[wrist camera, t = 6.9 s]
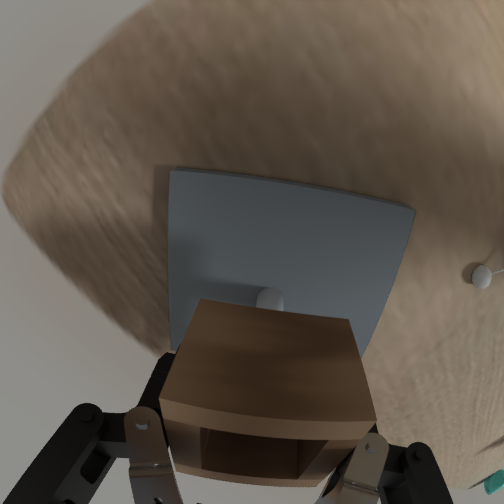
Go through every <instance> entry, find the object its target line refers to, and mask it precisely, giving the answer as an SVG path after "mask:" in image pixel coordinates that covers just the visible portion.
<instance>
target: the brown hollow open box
mask: <svg viewBox="0 0 504 504" xmlns="http://www.w3.org/2000/svg"><path fill="white" fill-rule="evenodd" d="M159 401H160V406H161V411H162V416H163V421H164V425H165V430H166V434H167V438H168V442H169V446H170V450H171V454H172V458H173V462H174V465H175V469H176V471H177V472H181V473H186V474H190V475H194V476H200V477H204V478H210V479H216V480H221V481H229V482H235V483H243V484H253V485H263V486H279V487H316V486H317V485H318V484H319V483H320V482H321V481H322V480H323V479H324V478H326V477H327V476H328V475H329V474H330V473H331V472H332V471H333V470H334V469H335V468H336V467H337V466H338V465H339V464H340V463H341V462H342V461H343V459H344V458H345V457H346V456H347V455H348V454H349V453H350V452H351V451H352V450H353V449H354V448H355V446H356V445H357V444H358V443H359V442H360V441H361V440H362V438H363V437H364V436H365V435H366V434H367V433H368V431H369V430H370V429H371V428H372V426H373V425H374V424H375V423H376V421H377V418H376V414H375V410H374V406H373V402H372V398H371V394H370V390H369V386H368V383H367V379H366V375H365V372H364V368H363V365H362V361H361V358H360V354H359V351H358V348H357V344H356V341H355V338H354V334H353V331H352V328H351V325H350V322H349V319H344V318H335V317H326V316H317V315H309V314H301V313H293V312H286V311H278V310H271V309H264V308H257V307H251V306H244V305H238V304H231V303H225V302H219V301H213V300H208V299H202V298H200V300H199V303H198V305H197V307H196V310H195V312H194V314H193V317H192V319H191V321H190V324H189V326H188V328H187V331H186V333H185V335H184V338H183V340H182V342H181V345H180V347H179V350H178V352H177V354H176V357H175V359H174V362H173V364H172V366H171V369H170V371H169V374H168V376H167V379H166V381H165V384H164V386H163V388H162V391H161V393H160V396H159Z"/></svg>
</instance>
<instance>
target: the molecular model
mask: <svg viewBox="0 0 504 504" xmlns="http://www.w3.org/2000/svg"><path fill="white" fill-rule="evenodd" d="M502 271H504V269H502V270H499V271H496V272H493V273H491V271H490V270H489V268H488V267H486V266H484V265H479V266H478V267H476V268H475V270H474V271H473V273H472V277H471V278H472V283H473V285H474V286H475V287H476V288H478V289H484V288H486V287H487V286H488V285H489V284H490V282H491V277H492V276H491V275H493V274H496V273H499V272H502Z"/></svg>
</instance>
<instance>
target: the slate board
mask: <svg viewBox="0 0 504 504" xmlns="http://www.w3.org/2000/svg"><path fill="white" fill-rule="evenodd" d="M415 214H416V210H415V209H413V208H412V207H410V206H409V205H405V204H401V203H397V202H393V201H389V200H384V199H380V198H376V197H371V196H367V195H362V194H357V193H353V192H348V191H343V190H338V189H332V188H327V187H322V186H316V185H311V184H305V183H299V182H293V181H287V180H280V179H274V178H267V177H260V176H252V175H245V174H237V173H229V172H220V171H211V170H201V169H190V168H178V167H177V168H174V169H172V170H170V179H169V200H168V301H169V322H170V339H171V350H174V351H177V349H178V347H179V345H180V344H181V342H182V340H183V338H184V335H185V333H186V331H187V328H188V326H189V324H190V321H191V319H192V317H193V314H194V312H195V310H196V307H197V305H198V303H199V300H200V298H202V299H208V300H213V301H219V302H225V303H231V304H238V305H244V306H251V307H257V308H264V309H271V310H278V311H286V312H293V313H301V314H309V315H317V316H326V317H335V318H344V319H349V322H350V325H351V328H352V331H353V334H354V338H355V341H356V344H357V348H358V351H359V354H360V358H362V356H363V354H364V352H365V350H366V347H367V345H368V343H369V341H370V339H371V337H372V334H373V332H374V330H375V328H376V325H377V323H378V321H379V318H380V316H381V314H382V311H383V309H384V306H385V304H386V301H387V299H388V296H389V294H390V291H391V288H392V286H393V283H394V280H395V278H396V275H397V272H398V269H399V266H400V263H401V260H402V257H403V254H404V251H405V248H406V245H407V241H408V238H409V235H410V231H411V228H412V224H413V221H414V217H415Z"/></svg>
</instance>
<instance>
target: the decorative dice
mask: <svg viewBox="0 0 504 504" xmlns="http://www.w3.org/2000/svg"><path fill="white" fill-rule="evenodd" d="M503 486H504V470H499V471H498V472H496V473H494V474H493V475H491V476H490V477H488V478H487V479H486V480H485V481H484V487H485V491H486V493H487V494H488V495H490V494H492V493H494V492H495V491H497V490H499V489H500V488H502V487H503Z"/></svg>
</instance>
